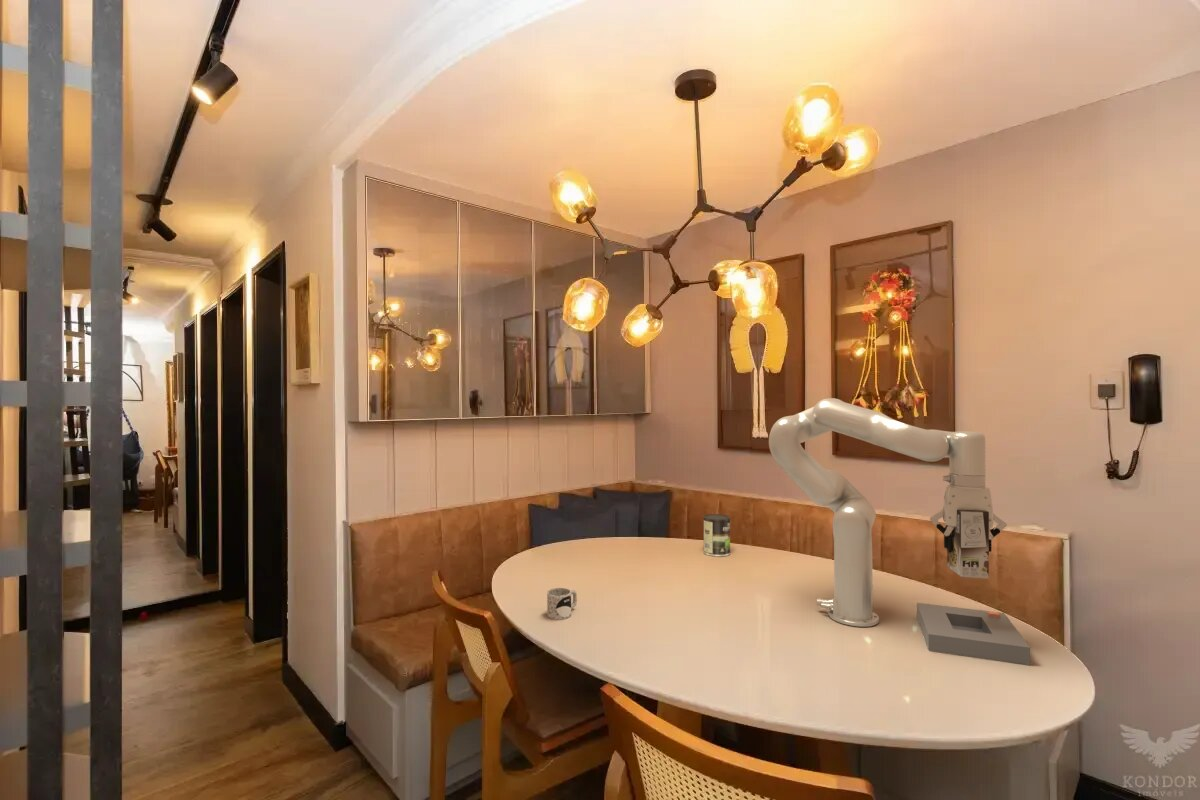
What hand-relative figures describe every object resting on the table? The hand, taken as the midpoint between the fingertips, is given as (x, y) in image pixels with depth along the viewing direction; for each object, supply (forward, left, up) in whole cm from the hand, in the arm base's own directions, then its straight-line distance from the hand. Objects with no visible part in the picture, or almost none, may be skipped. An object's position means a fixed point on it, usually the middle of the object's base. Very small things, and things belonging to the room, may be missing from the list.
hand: (967, 552), depth 142 cm
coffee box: (0, 0, -5) cm, 5 cm away
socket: (0, 0, -22) cm, 22 cm away
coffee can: (-73, +55, -22) cm, 94 cm away
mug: (-101, -22, -22) cm, 105 cm away
